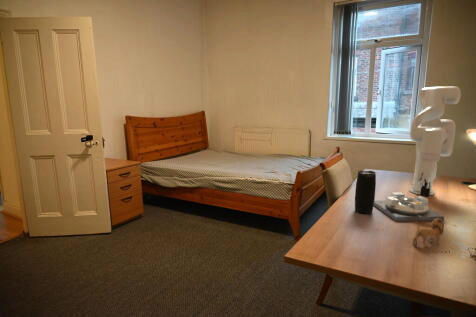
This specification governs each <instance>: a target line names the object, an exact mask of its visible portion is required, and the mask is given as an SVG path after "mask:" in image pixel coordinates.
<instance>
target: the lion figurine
mask: <svg viewBox="0 0 476 317" xmlns="http://www.w3.org/2000/svg"><path fill="white" fill-rule="evenodd" d="M444 230H445V222H444V221H442V219H439V218H436V219H434V220H433V221H431V226H430V227H419V228H418V229H417V231H416V234H415V236H414V237H413V239H412V245H413V246H414V247H418V239H419V238H420V237H421V238H422V245H423V246H424V247H425V248H429V245H428V244H427V243H426V242H427V240H428V242H429V243H431V242H433V238H434V237H435V244H436V245H440V238H441V235H443V234H444Z"/></svg>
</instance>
